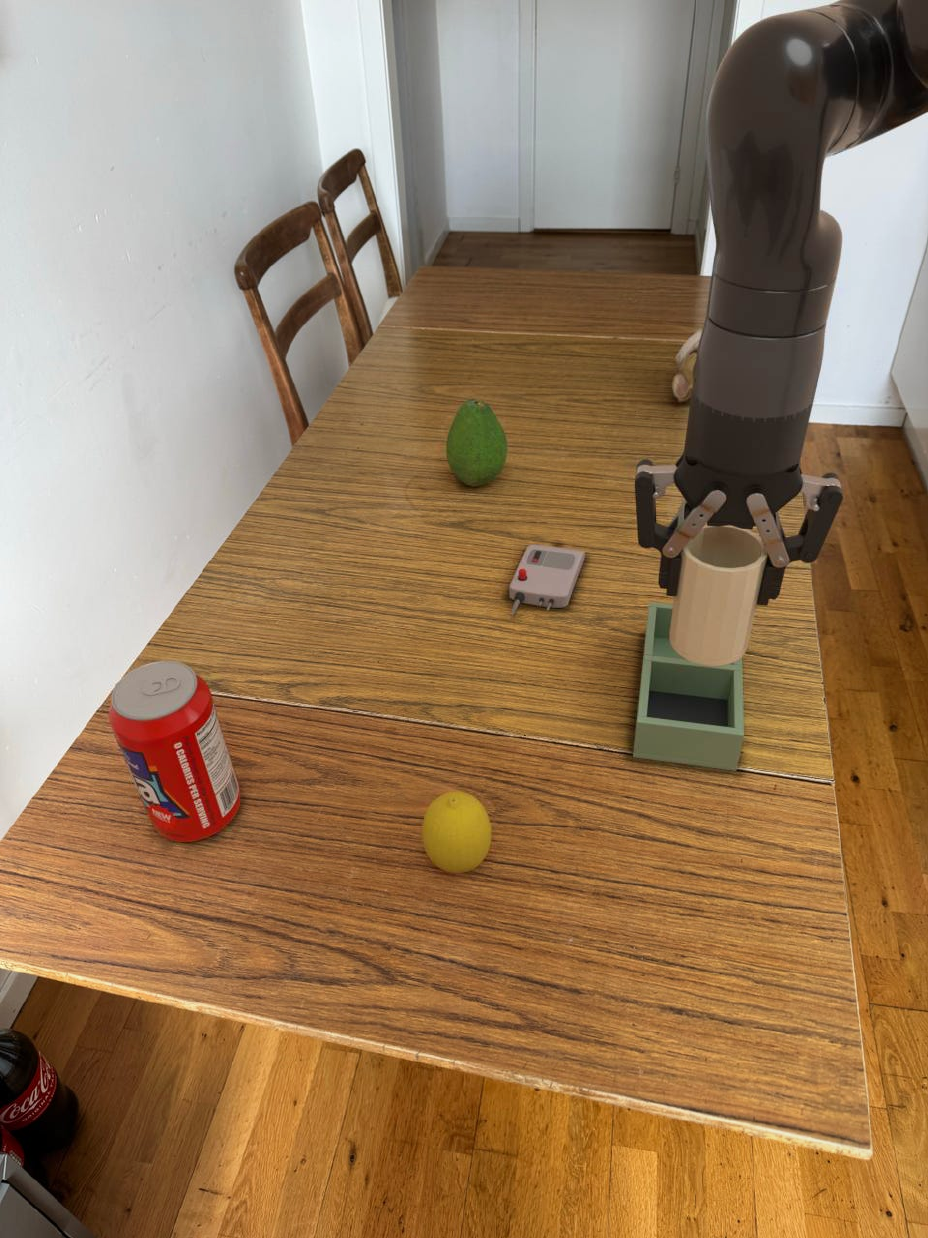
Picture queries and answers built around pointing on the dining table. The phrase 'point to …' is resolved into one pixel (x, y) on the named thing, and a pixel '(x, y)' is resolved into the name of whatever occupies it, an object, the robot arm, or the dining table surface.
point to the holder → (686, 703)
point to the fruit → (476, 444)
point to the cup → (717, 595)
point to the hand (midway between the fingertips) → (716, 593)
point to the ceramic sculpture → (685, 368)
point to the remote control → (545, 576)
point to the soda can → (175, 750)
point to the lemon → (456, 832)
